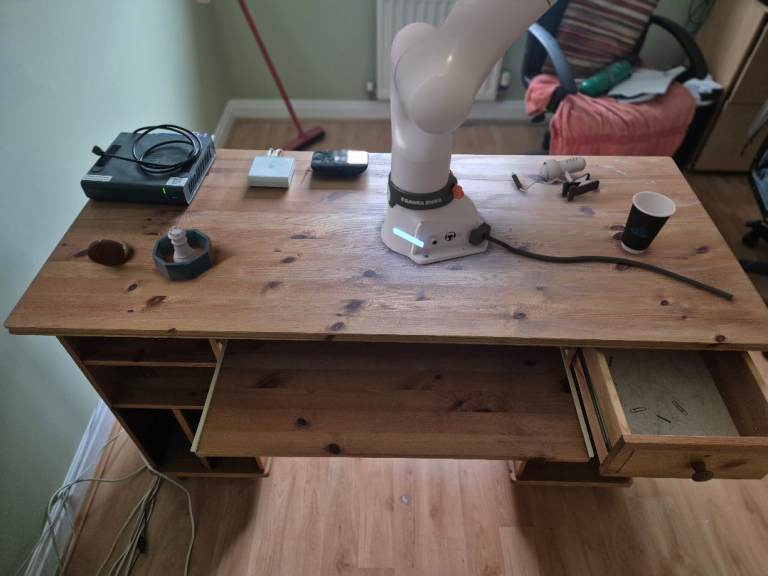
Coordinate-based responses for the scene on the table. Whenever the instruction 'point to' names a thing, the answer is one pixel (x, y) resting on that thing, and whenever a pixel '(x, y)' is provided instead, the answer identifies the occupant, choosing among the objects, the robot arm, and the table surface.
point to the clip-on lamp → (566, 167)
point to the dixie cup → (646, 220)
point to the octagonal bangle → (184, 268)
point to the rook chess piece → (181, 245)
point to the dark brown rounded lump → (108, 251)
